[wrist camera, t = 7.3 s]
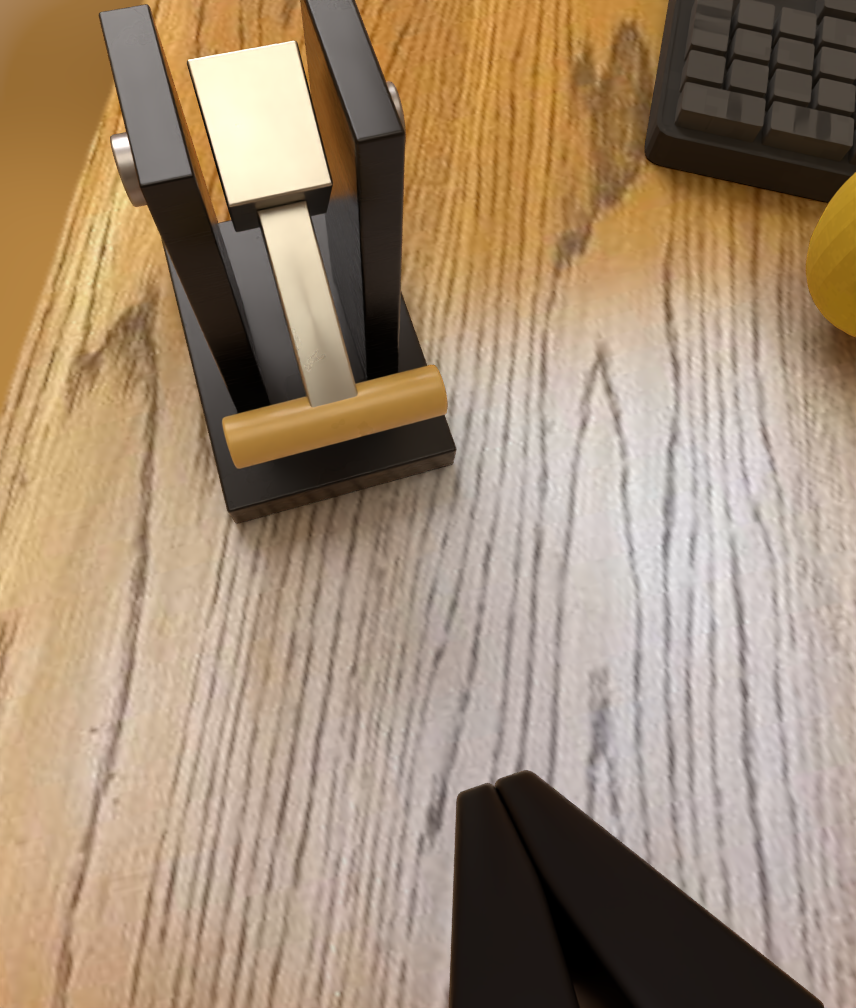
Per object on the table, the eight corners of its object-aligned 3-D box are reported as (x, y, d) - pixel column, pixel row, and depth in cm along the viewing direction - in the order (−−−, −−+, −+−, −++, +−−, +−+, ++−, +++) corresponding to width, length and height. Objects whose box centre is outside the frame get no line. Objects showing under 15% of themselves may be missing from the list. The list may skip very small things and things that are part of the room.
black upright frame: (454, 464, 23) (505, 239, 13) (235, 524, 22) (109, 331, 12) (366, 214, 26) (354, -128, 16) (170, 257, 25) (24, -78, 15)
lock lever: (436, 413, 19) (457, 415, 16) (240, 464, 18) (233, 475, 16) (354, 76, 17) (364, 25, 15) (137, 118, 16) (112, 72, 14)
